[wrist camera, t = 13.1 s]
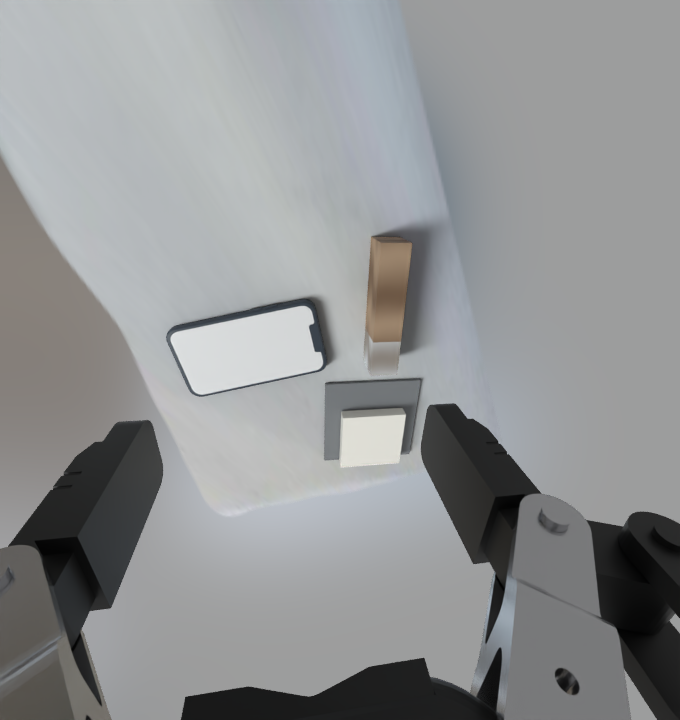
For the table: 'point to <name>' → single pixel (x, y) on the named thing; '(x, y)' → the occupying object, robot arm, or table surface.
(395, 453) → the tile
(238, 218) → the table surface
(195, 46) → the table surface
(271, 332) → the phone case
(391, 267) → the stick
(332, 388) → the mat
